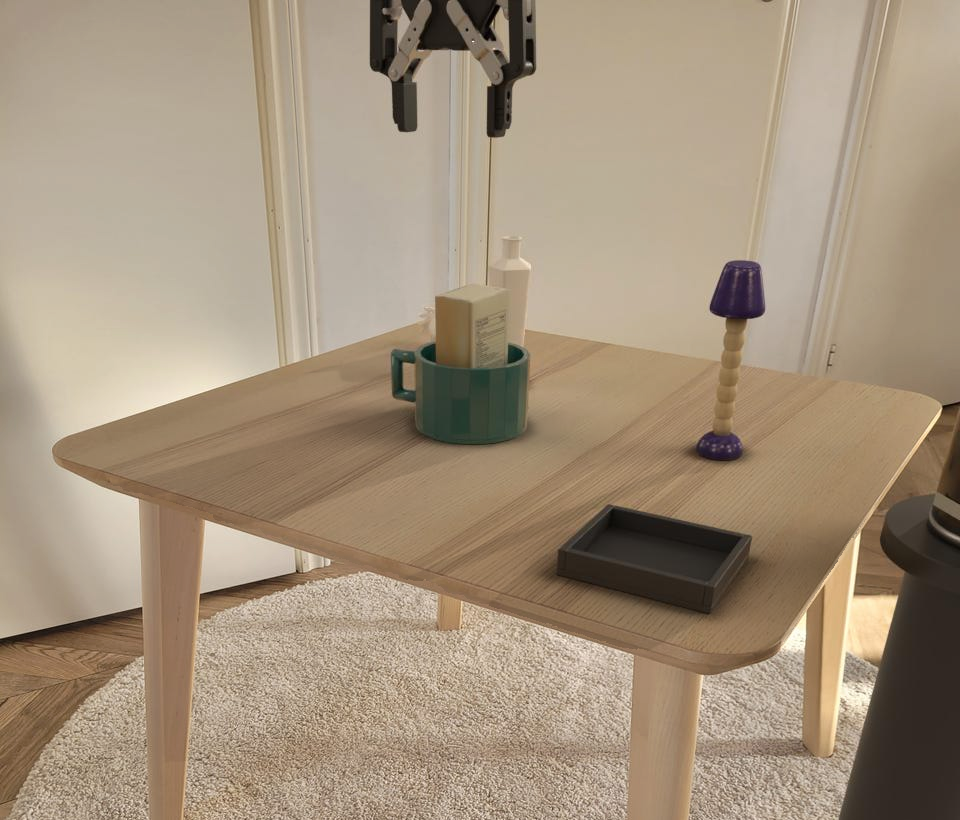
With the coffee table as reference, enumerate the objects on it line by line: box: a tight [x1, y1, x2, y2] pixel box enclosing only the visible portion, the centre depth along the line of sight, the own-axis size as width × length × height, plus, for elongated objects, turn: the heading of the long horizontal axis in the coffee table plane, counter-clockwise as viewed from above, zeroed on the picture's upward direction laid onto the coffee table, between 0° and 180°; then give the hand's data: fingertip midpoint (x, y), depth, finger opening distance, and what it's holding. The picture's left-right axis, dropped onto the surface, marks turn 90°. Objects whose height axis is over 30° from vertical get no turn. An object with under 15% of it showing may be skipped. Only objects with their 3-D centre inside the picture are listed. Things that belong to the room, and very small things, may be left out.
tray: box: [556, 503, 753, 614], centre depth 71 cm, size 11×9×2 cm
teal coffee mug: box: [390, 340, 531, 445], centre depth 96 cm, size 14×11×7 cm
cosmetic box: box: [434, 283, 509, 368], centre depth 94 cm, size 6×4×12 cm
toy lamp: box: [695, 259, 766, 461], centre depth 88 cm, size 5×5×17 cm
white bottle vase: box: [487, 235, 532, 348], centre depth 105 cm, size 5×4×15 cm
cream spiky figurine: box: [416, 305, 436, 343], centre depth 117 cm, size 12×5×5 cm, turn 6°
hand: (451, 134), depth 84 cm, fingers open, 8 cm apart
